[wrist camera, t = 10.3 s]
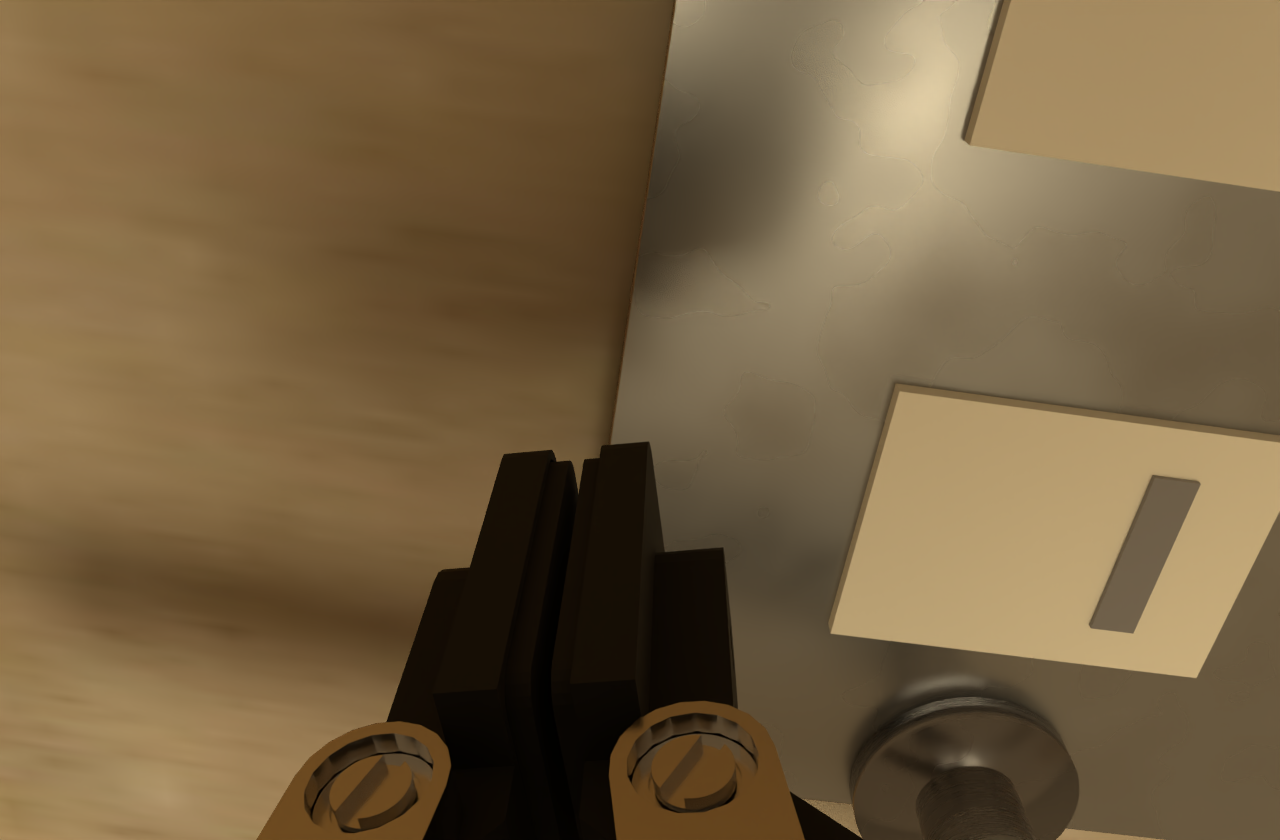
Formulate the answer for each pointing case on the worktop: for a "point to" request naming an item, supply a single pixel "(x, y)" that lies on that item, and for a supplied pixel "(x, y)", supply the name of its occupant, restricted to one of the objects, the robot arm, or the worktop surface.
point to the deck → (940, 359)
